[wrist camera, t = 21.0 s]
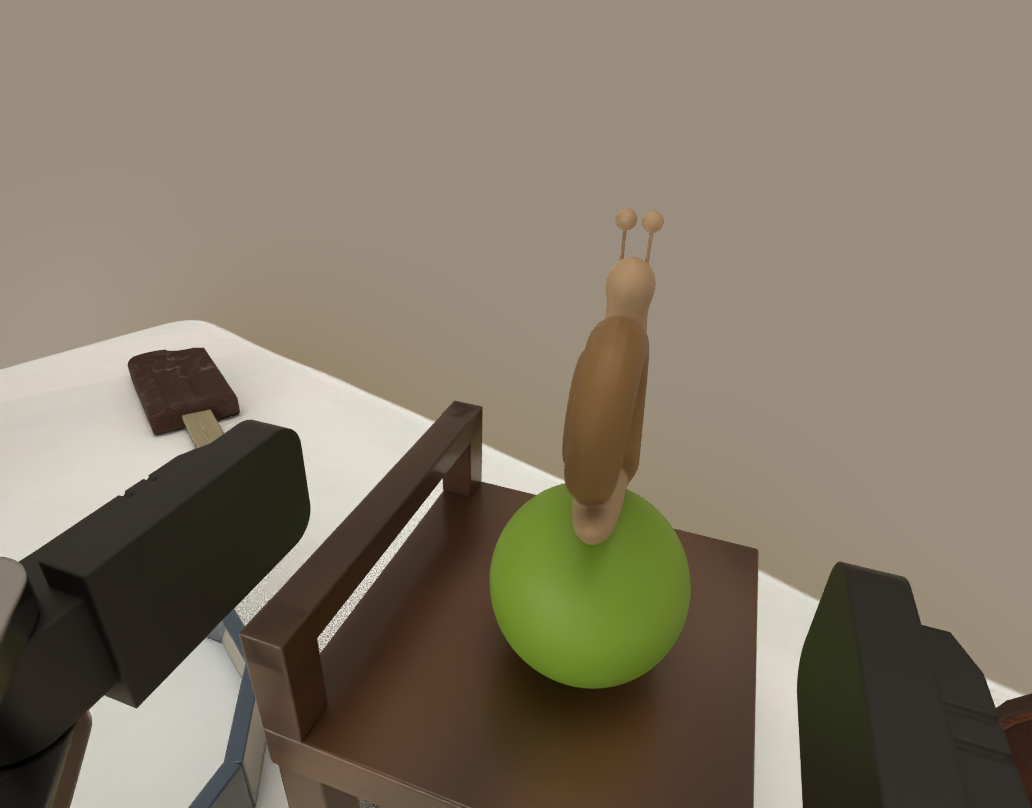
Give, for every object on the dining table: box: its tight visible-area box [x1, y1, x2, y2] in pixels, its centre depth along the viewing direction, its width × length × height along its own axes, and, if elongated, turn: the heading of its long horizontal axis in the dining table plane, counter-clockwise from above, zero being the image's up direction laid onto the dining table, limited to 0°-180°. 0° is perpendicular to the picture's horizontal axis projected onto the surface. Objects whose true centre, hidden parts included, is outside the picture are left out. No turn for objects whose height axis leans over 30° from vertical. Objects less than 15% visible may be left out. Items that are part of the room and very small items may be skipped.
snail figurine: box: [490, 208, 691, 689], centre depth 16 cm, size 5×6×12 cm
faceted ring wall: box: [188, 609, 266, 808], centre depth 21 cm, size 15×15×2 cm
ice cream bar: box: [128, 348, 240, 448], centre depth 43 cm, size 5×2×15 cm
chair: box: [239, 401, 758, 808], centre depth 20 cm, size 12×12×10 cm
